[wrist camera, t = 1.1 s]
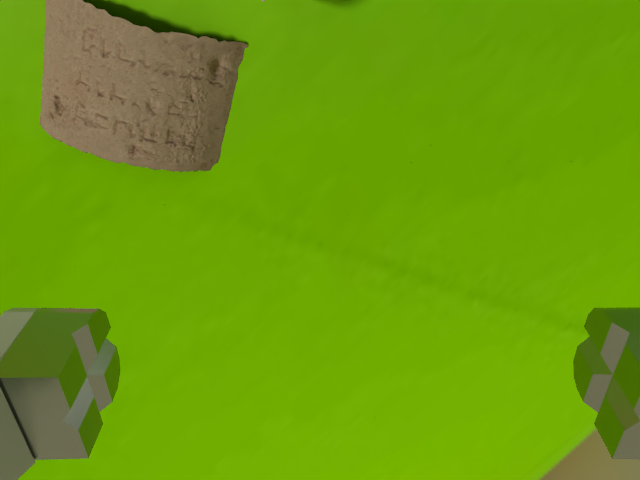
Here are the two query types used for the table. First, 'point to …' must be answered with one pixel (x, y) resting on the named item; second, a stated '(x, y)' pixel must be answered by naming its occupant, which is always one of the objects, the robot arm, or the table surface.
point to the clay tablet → (135, 89)
